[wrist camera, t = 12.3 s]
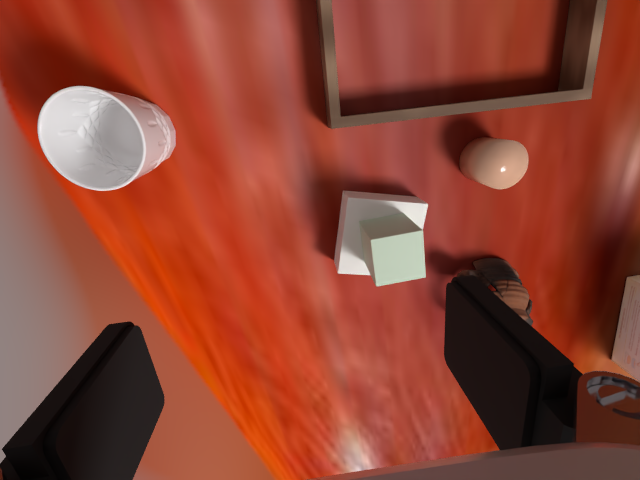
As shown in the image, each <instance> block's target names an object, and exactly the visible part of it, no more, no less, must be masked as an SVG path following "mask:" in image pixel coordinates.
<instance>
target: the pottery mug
mask: <svg viewBox="0 0 640 480" xmlns="http://www.w3.org/2000/svg"><path fill="white" fill-rule="evenodd" d="M473 265H474V266H475V269H476V270H463V271H461V272H460V273H458V275H457V277H460V276H467V275H473V276H475V277H476V278H477V279H478V280H480V281H481V282H482V283H483V284H484V285H485V286H486V287H488V286H489V285H490V284H491V285H492V286H493V287H494V288H495V289H496V291H492V292H493V293H494V294H495V295H497V296H498V297H499V298H500V299H501V300H502V301H503V302H504V303H506V304H507V305H508V306H509V307H510V308H511V309H512V310H514V311H515V312H516V313H517V314H518V315H519V316H520V317H521V318H523V319H524V320H525V321H526V322H527V323H528V324H529V325H530V326H531V325H532V323H533V321H532V319H531V318H530V316H529V314H530V312H531V308H532V301H531V300H529V294H528V292H527V289H526V288H524V287H523V286H522V283H521V280H520V279H519V275H518V273H517V271H516V270H515V269H513V268H512V267H511V265H510V264H509V263H508V262H507V261H505V260H502V259H498V258H484V259H480V260H477V261H474V262H473Z"/></svg>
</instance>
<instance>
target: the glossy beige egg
mask: <svg viewBox="0 0 640 480" xmlns="http://www.w3.org/2000/svg"><path fill="white" fill-rule="evenodd" d="M459 166H460V170H461V172H462V174H463V175H464V176H465V177H466V178H468V179H470V180H473V181H476V182H479V183H481V184H484V185H487V186H489V187H492V188H495V189H506V188H509V187H511V186H513V185H515V184H516V183H517V182H518V181H519V180H520V179H521V178H522V177H523V175H524V174H525V172H526V170H527V167H528V153H527V151H526V149H525V147H524V146H523V145H522V144H520V143H519V142H517V141H512V140H504V139H496V138H489V137H480V138H476V139H474V140H472V141H470V142H469V143H468V144H467V145H466V146H465V147H464V149H463V150H462V153H461V155H460V159H459Z"/></svg>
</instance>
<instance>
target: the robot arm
mask: <svg viewBox="0 0 640 480" xmlns="http://www.w3.org/2000/svg"><path fill="white" fill-rule="evenodd" d="M444 356H445V361H446V363H447V366H448V367H449V369H450V370H451V372H452V374H453V375H454V377H455V378H456V380H457V382H458V383H459V385H460V387H461V388H462V390H463V391H464V393H465V395H466V396H467V398H468V399H469V401H470V403H471V404H472V406H473V407H474V409H475V411H476V412H477V414H478V415H479V417H480V419H481V420H482V422H483V423H484V425H485V427H486V428H487V430H488V431H489V433H490V435H491V436H492V438H493V439H494V441H495V443H496V444H497V446H498V447H499V449H500V450H499V451H492V452H484V453H477V454H469V455H462V456H456V457H449V458H443V459H436V460H430V461H423V462H416V463H410V464H403V465H397V466H390V467H384V468H377V469H371V470H364V471H357V472H351V473H345V474H338V475H332V476H326V477H319V478H313V479H307V480H640V382H638V381H636V380H634V379H632V378H629V377H627V376H624V375H621V374H617V373H612V372H607V371H592V372H588V373H585V374H584V375H583V374H582V373H581V372H579V371H578V370H577V369H576V368H575V367H574V366H573V365H574V364H573V363H572V362H571V361H570V360H569V359H568V358H567V357H566V356H564V355H563V354H562V353H561V352H560V351H559V350H558V349H557V348H555V347H554V346H553V345H552V344H551V343H550V342H549V341H547V340H546V339H545V338H544V337H543V336H542V335H541V334H540V333H538V332H537V331H536V330H535V329H534V328H533V327H532V326H530V325H529V324H528V323H527V322H526V321H525V320H524V319H523V318H521V317H520V316H519V315H518V314H517V313H516V312H515V311H514V310H512V309H511V308H510V307H509V306H508V305H507V304H506V303H504V302H503V301H502V300H501V299H500V298H499V297H498V296H497V295H495V294H494V293H493V292H492V291H491V290H490V289H489V288H488V287H486V286H485V285H484V284H483V283H482V282H481V281H480V280H478V279H477V278H476V277H475V276H473V275H467V276H460V277H454V278H453V279H452V281H451V283H448V284H447V286H446V313H445V345H444ZM163 406H164V394H163V391H162V388H161V385H160V383H159V379H158V377H157V374H156V371H155V368H154V365H153V362H152V360H151V357H150V354H149V352H148V348H147V345H146V343H145V340H144V337H143V334H142V331H141V329H140V327H138V326H134V324H133V323H132V322H123V323H116V324H109V325H108V326H107V327H106V328H105V329H104V330H103V331H102V333H101V334H100V335H99V336H98V337H97V338H96V339H95V341H94V342H93V343H92V344H91V345H90V346H89V348H88V349H87V350H86V351H85V352H84V353H83V355H82V356H81V357H80V358H79V359H78V361H77V362H76V363H75V364H74V365H73V366H72V368H71V369H70V370H69V371H68V372H67V374H66V375H65V376H64V377H63V378H62V379H61V380H60V382H59V383H58V384H57V385H56V386H55V387H54V389H53V390H52V391H51V392H50V393H49V395H48V396H47V397H46V398H45V399H44V401H43V402H42V403H41V404H40V405H39V406H38V407H37V409H36V410H35V411H34V412H33V413H32V414H31V416H30V417H29V418H28V419H27V421H26V422H25V423H24V424H23V425H22V426H21V427H20V429H19V430H18V431H17V432H16V433H15V434H14V436H13V437H12V438H11V439H10V441H9V442H8V443H7V444H6V445H5V446H4V447H3V449H2V450H3V452H4V453H5V455H6V457H5V459H4V460H3V461H2V462H1V463H0V480H132V479H133V477H134V475H135V472H136V470H137V468H138V465H139V463H140V461H141V458H142V456H143V454H144V451H145V449H146V447H147V444H148V442H149V439H150V437H151V435H152V433H153V430H154V428H155V425H156V423H157V421H158V418H159V416H160V413H161V411H162V409H163Z"/></svg>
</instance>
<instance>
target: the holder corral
mask: <svg viewBox="0 0 640 480" xmlns="http://www.w3.org/2000/svg"><path fill="white" fill-rule="evenodd" d="M316 4H317V15H318V26H319V37H320V47H321V58H322V69H323V80H324V91H325V101H326V112H327V123H328V128H331V129H334V128H343V127H351V126H360V125H368V124H377V123H386V122H394V121H403V120H411V119H420V118H429V117H437V116H446V115H455V114H463V113H472V112H480V111H489V110H498V109H506V108H515V107H523V106H532V105H541V104H549V103H558V102H567V101H575V100H584V99H591V95H592V89H593V83H594V77H595V71H596V65H597V59H598V53H599V47H600V41H601V35H602V29H603V23H604V17H605V11H606V5H607V0H570V5H569V12H568V20H567V27H566V35H565V42H564V49H563V57H562V64H561V72H560V79H559V87H558V91H555V92H546V93H538V94H529V95H520V96H512V97H503V98H494V99H485V100H477V101H468V102H459V103H450V104H442V105H433V106H424V107H416V108H407V109H398V110H389V111H381V112H372V113H363V114H354V115H346V116H341V115H340V102H339V89H338V77H337V64H336V51H335V39H334V26H333V13H332V1H331V0H316Z"/></svg>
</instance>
